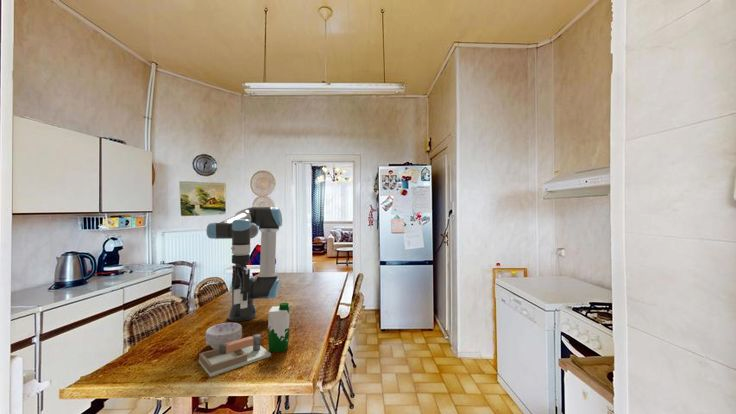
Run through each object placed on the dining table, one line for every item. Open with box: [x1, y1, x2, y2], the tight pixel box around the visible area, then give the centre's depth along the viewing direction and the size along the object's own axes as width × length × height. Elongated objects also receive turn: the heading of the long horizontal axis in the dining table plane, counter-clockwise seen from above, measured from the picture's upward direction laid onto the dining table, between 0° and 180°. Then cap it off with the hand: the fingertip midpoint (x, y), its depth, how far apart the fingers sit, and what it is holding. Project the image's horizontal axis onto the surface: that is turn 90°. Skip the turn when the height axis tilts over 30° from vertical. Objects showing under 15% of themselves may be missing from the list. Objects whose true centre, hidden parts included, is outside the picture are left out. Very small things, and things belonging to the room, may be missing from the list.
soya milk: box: [267, 302, 290, 353], centre depth 138 cm, size 9×9×20 cm
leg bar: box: [219, 333, 262, 355], centre depth 129 cm, size 17×4×3 cm, turn 134°
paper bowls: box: [205, 322, 243, 350], centre depth 141 cm, size 15×15×8 cm
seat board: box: [198, 343, 272, 378], centre depth 128 cm, size 15×24×4 cm, turn 134°
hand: (240, 305), depth 135 cm, fingers open, 7 cm apart
